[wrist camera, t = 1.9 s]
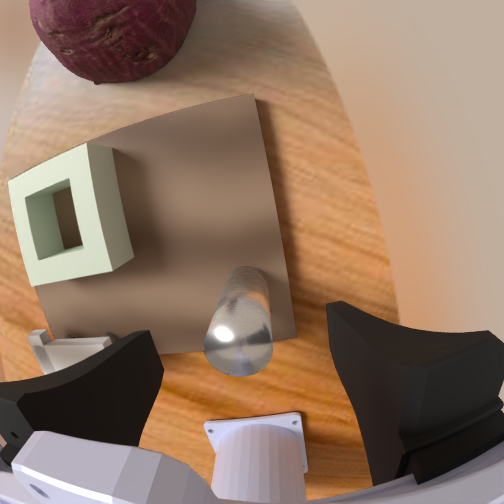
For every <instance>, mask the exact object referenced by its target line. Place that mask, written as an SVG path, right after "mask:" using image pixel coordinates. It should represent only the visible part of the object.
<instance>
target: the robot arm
mask: <svg viewBox="0 0 504 504" xmlns="http://www.w3.org/2000/svg"><path fill="white" fill-rule="evenodd" d="M326 311H327V322H328V333H329V345H330V351H331V354H332V358H333V361H334V365H335V368H336V370H337V372H338V375H339V377H340V379H341V381H342V384H343V386H344V388H345V390H346V393H347V395H348V397H349V399H350V402H351V404H352V406H353V409H354V411H355V414H356V417H357V420H358V424H359V427H360V431H361V435H362V438H363V442H364V446H365V450H366V454H367V459H368V463H369V467H370V472H371V477H372V482H373V487H370V488H366V489H363V490H359V491H355V492H351V493H346V494H342V495H337V496H333V497H327V498H322V499H316V500H310V501H307V499H306V490H305V481H304V473H306V472H307V471H308V465H307V458H306V450H305V442H304V435H303V428H302V420H301V415H300V413H298V412H292V413H285V414H278V415H271V416H262V417H253V418H243V419H231V420H215V421H206V422H205V423H204V429H205V431H206V433H207V435H208V438H209V440H210V442H211V444H212V446H213V448H214V450H215V452H216V459H215V465H214V471H213V478H212V484H211V488H210V486H209V485H208V483H207V482H206V481H205V480H204V479H203V478H202V477H201V476H200V475H199V474H197V473H196V472H195V471H194V470H193V469H192V468H191V467H190V466H189V465H187V464H185V463H183V462H181V461H179V460H177V459H174V458H172V457H170V456H168V455H166V454H164V453H161V452H157V451H152V450H148V449H144V448H140V447H138V446H139V442H140V438H141V434H142V431H143V428H144V426H145V423H146V421H147V418H148V416H149V414H150V411H151V409H152V407H153V404H154V402H155V399H156V397H157V394H158V392H159V389H160V386H161V382H162V378H163V373H164V367H163V365H162V362H161V360H160V357H159V355H158V352H157V349H156V347H155V344H154V341H153V339H152V336H151V333H150V330H142V331H136V332H133V333H131V334H129V335H127V336H125V337H123V338H121V339H119V340H118V341H116V342H114V343H112V344H111V345H109V346H107V347H106V348H104V349H102V350H101V351H99V352H97V353H95V354H93V355H91V356H90V357H88V358H86V359H84V360H82V361H80V362H78V363H76V364H74V365H71V366H69V367H66V368H64V369H61V370H59V371H56V372H53V373H49V374H46V375H43V376H39V377H35V378H31V379H26V380H20V381H12V382H2V383H0V434H1V436H2V437H3V438H4V440H5V441H6V442H7V444H6V446H5V447H2V446H1V445H0V504H504V413H503V412H502V411H501V409H502V408H503V406H504V403H503V401H502V400H501V399H500V398H499V397H498V395H499V392H500V389H501V386H502V384H503V381H504V343H503V342H502V341H501V340H500V339H498V338H497V337H496V336H495V335H494V334H492V333H491V332H490V331H488V330H487V331H476V332H465V333H445V332H432V331H425V330H418V329H412V328H408V327H404V326H401V325H397V324H394V323H390V322H388V321H385V320H382V319H380V318H377V317H375V316H372V315H370V314H368V313H366V312H364V311H362V310H360V309H358V308H356V307H354V306H352V305H350V304H347V303H345V302H343V301H338V302H333V303H328V304H326ZM294 421H296V422H294ZM210 429H212V430H210Z"/></svg>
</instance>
